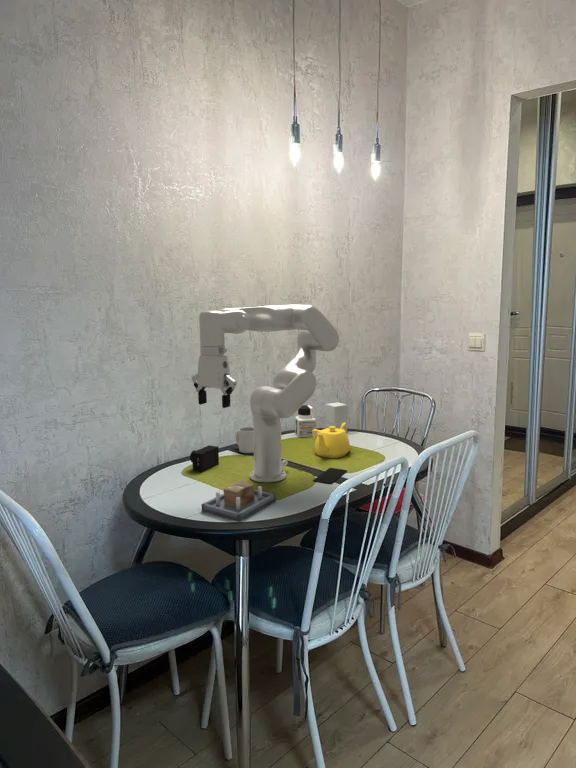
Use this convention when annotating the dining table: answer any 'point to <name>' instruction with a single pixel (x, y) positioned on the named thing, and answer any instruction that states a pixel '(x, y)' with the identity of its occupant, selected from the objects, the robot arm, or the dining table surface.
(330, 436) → the teapot
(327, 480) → the smartphone
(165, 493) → the dining table surface
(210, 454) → the digital camera
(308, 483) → the dining table surface
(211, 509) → the tray
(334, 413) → the supplement box
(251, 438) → the cup
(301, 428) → the container
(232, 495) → the labeled cardboard box
